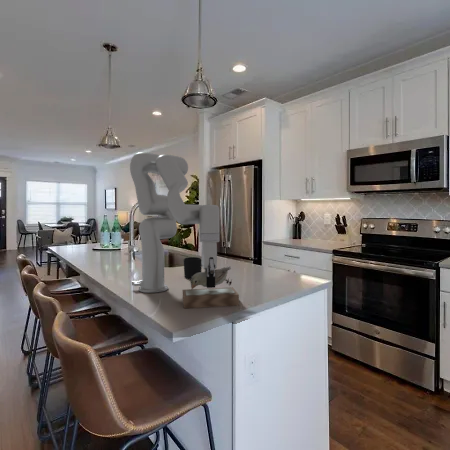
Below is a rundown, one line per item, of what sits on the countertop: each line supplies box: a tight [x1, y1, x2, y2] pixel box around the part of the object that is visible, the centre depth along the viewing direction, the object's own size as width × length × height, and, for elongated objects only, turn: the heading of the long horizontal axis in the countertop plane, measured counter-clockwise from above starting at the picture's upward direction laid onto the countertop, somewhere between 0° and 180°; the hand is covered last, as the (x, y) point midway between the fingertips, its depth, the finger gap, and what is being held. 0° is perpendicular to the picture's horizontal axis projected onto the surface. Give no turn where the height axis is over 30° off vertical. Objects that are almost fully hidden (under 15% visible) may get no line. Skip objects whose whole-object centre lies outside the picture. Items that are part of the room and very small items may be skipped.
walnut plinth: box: [182, 286, 240, 309], centre depth 118 cm, size 20×11×4 cm, turn 100°
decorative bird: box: [190, 266, 233, 289], centre depth 118 cm, size 5×16×8 cm, turn 112°
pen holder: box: [183, 256, 203, 280], centre depth 163 cm, size 9×9×10 cm
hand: (209, 285), depth 118 cm, fingers closed on decorative bird, 5 cm apart
